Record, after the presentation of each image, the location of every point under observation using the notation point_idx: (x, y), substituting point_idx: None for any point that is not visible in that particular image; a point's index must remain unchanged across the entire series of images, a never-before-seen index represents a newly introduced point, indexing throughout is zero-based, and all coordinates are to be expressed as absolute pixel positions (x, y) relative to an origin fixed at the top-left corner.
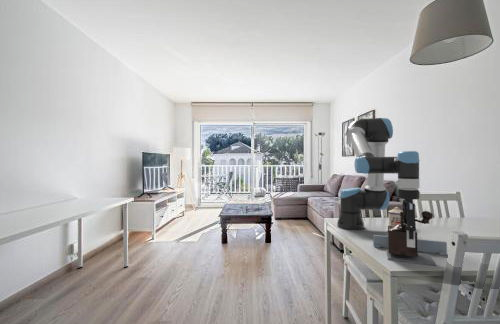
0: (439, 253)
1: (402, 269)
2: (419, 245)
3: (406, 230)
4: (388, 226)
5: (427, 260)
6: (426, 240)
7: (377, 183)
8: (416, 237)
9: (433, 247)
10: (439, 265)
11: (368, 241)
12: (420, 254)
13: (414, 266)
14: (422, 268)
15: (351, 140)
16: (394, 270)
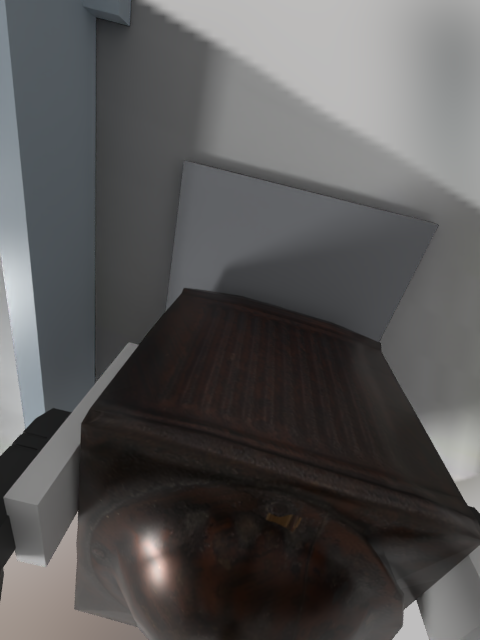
0: (111, 19)
1: (469, 436)
2: (64, 204)
3: (388, 620)
4: (127, 623)
5: (354, 253)
6: (14, 131)
7: None
8: (449, 484)
9: (63, 60)
10: (426, 189)
11: (5, 438)
12: (215, 245)
13: (431, 365)
14: (470, 336)
15: None
16: (477, 470)
